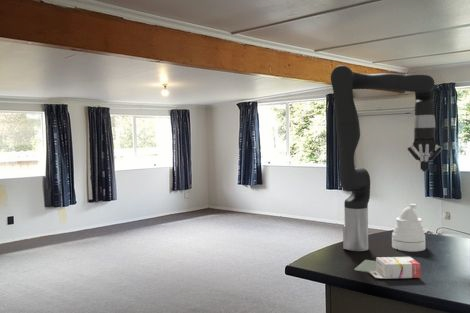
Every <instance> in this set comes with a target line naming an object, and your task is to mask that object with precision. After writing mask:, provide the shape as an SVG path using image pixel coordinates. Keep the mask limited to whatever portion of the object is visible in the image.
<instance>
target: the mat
mask: <svg viewBox="0 0 470 313" xmlns="http://www.w3.org/2000/svg"><path fill="white" fill-rule="evenodd" d="M368 270H375V271H376V260H370V259H364V260H363V261H362V262H361V263H360V264H359V265H357V266H356V267H355V268H354V271H357V272H364V273H370V272H369V271H368Z"/></svg>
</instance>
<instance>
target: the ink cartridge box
mask: <svg viewBox="0 0 470 313" xmlns="http://www.w3.org/2000/svg"><path fill="white" fill-rule="evenodd" d="M375 261H376V271H375V270H368V271H369V272H368V273H369V274H370V275H371V276H373V277H374V279H385V280H386V279H387V280H388V279H413V278H414V279H415V278H416V279H417V278H419V279H420V278H421V267H422V266H421V263H420V262H419V261H417V260H415V259H414V258H413V257H411V256H386V257H385V256H381V257H378V256H376V258H375Z"/></svg>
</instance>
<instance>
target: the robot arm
mask: <svg viewBox="0 0 470 313" xmlns="http://www.w3.org/2000/svg"><path fill="white" fill-rule="evenodd" d="M330 83H331V86H332V91H333V97H334V105H335V106H334V109H335V126H336V127H335V128H336V135H337V144H338V157H339V166H338V167H339V168H338V169H339V170H338V171H339V182H340V183H339V184H340V186H341V187H342V189H343V190H344V191H346V192H351V194H350V196H349V197H347V198H346V199H345V200H344V204H343V205H344V225H343V226H342V241H343V242H342V244H343V246H342V247H343V248H342V249H343V250H347V251H352V252H365V251H368V250H369V210H368V209H369V208H368V207H369V206H368V205H369V202H370V196H371V176H370V173H369V171H368V170H367V169H365V168H363V167H356V166H355V153H356V150H357V147H358V145H359V142H360V140H361V127H360V119H359V115H358V111H357V108H356V104H355V101H354V90H378V91H384V92H385V91H386V92H396V93H398V92H399V93H404V92H412V93H414V96H415V103H414V104H415V105H414V121H413V130H414V131H413V133H414V134H413V137H414V138H413V143H412V145H411V146H409V147H407V151H408V152H409V153H410V154H411V155H412V157H413V158H414V159H415V160H416V161H419V162H420V170H422V172H428V170H429V168H430V161H433V160H435V159H436V158H437V156H438V155H439V154H440V152H441V151H442V150H443V147H442V146H440V145H439V144H437V140H436V117H435V102H434V95H435V94H434V93H435V92H434V90H435V89H434V88H435V80H434V78H433V77H432V76H430V75H428V74H419V73H418V74H415V73H414V74H404V73H396V72H395V73H393V72H392V73H391V72H390V73H389V72H386V73H385V72H383V73H381V72H380V73H360V72H354V71H352V69H351V68H350V67H348V66H346V65H343V64H342V65H337V66H336V67H335V68H333V70H332V72H331V74H330ZM415 150H416V151H417V152H418V153H419V155H418V153H417V152H416V151H415ZM433 150H434V152H433V154H432V155H431V152H432V151H433Z"/></svg>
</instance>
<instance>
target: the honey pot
mask: <svg viewBox="0 0 470 313" xmlns="http://www.w3.org/2000/svg"><path fill="white" fill-rule="evenodd" d="M417 207H418V206H417V203H410V204H409V206H407V207H405V208H403V209H402V211H401V212H400V214H399V215H398V216H399V217H396V218H395V220H396V223H395V225H394V228H393V231H392V233H391V247H392V248H393V249H395V250H397V249H398V250H399V251H404V252H421V251H425V250H426V234H425V232H424V230H423V229H424V228H423V226H422V222H423V219H422V218H421V217H419V216H418V215H417V213H416V212H415V209H416V208H417Z"/></svg>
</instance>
